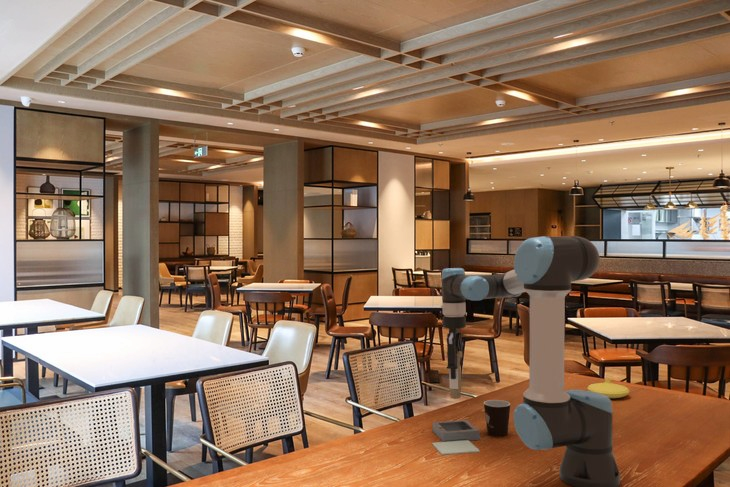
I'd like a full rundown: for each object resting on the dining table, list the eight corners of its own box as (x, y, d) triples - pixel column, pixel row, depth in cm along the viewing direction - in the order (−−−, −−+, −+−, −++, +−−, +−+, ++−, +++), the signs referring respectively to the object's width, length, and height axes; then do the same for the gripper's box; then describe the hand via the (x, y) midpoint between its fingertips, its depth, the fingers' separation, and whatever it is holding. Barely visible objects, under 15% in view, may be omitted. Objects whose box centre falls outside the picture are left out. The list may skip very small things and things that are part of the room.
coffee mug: (511, 438, 198) (510, 407, 198) (484, 437, 200) (483, 406, 200) (510, 427, 210) (509, 398, 210) (484, 426, 212) (484, 397, 211)
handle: (449, 400, 199) (448, 353, 199) (447, 395, 205) (446, 350, 205) (464, 400, 199) (463, 353, 199) (461, 395, 205) (460, 350, 205)
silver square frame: (479, 439, 198) (479, 429, 198) (443, 442, 195) (443, 432, 195) (466, 428, 209) (466, 418, 209) (432, 431, 207) (432, 421, 207)
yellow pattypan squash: (632, 394, 251) (632, 377, 251) (625, 403, 238) (625, 385, 238) (592, 390, 259) (591, 373, 259) (583, 398, 246) (583, 380, 246)
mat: (479, 451, 186) (479, 450, 186) (441, 455, 184) (441, 453, 184) (468, 441, 196) (468, 440, 196) (432, 444, 194) (432, 442, 194)
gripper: (448, 312, 211) (449, 380, 211) (436, 318, 195) (438, 392, 195) (469, 312, 209) (471, 381, 209) (460, 318, 193) (461, 393, 193)
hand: (455, 386), depth 202 cm, fingers closed on handle, 4 cm apart
